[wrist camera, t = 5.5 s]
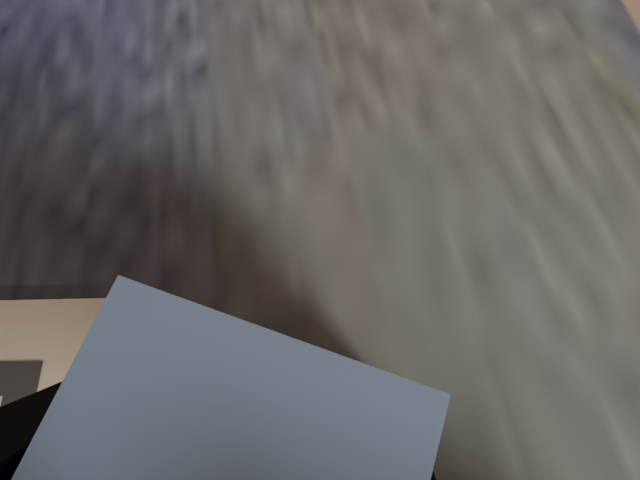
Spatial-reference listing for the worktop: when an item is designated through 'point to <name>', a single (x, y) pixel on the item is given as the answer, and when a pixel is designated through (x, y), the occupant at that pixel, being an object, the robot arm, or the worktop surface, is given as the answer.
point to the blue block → (225, 404)
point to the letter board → (40, 342)
